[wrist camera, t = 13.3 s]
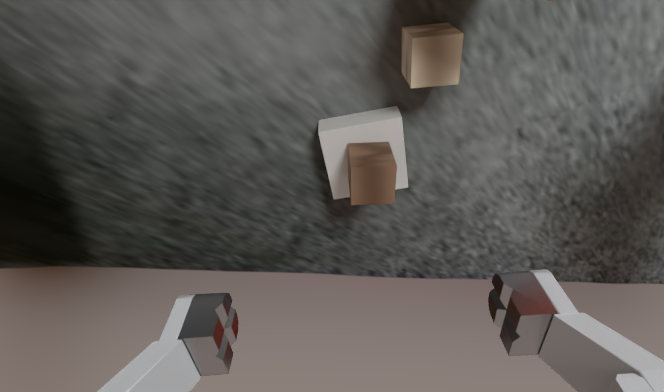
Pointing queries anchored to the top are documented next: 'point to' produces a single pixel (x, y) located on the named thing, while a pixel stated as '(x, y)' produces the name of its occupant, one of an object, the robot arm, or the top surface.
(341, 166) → the stone slab
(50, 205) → the top surface
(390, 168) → the walnut block
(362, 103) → the top surface
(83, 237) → the top surface
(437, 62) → the beech block
